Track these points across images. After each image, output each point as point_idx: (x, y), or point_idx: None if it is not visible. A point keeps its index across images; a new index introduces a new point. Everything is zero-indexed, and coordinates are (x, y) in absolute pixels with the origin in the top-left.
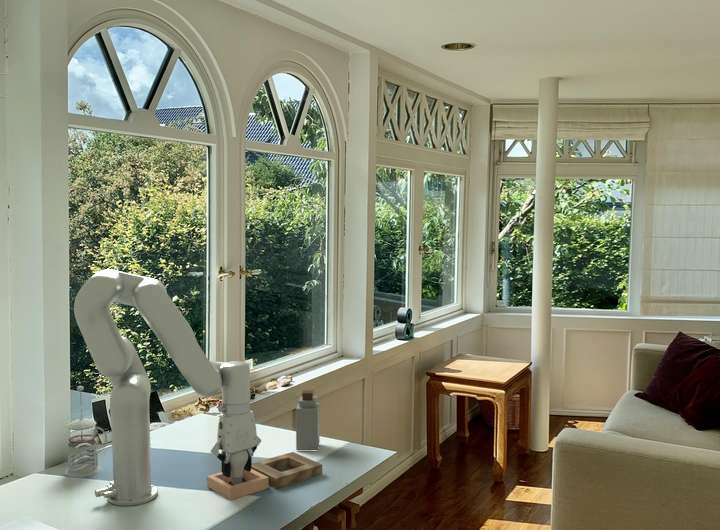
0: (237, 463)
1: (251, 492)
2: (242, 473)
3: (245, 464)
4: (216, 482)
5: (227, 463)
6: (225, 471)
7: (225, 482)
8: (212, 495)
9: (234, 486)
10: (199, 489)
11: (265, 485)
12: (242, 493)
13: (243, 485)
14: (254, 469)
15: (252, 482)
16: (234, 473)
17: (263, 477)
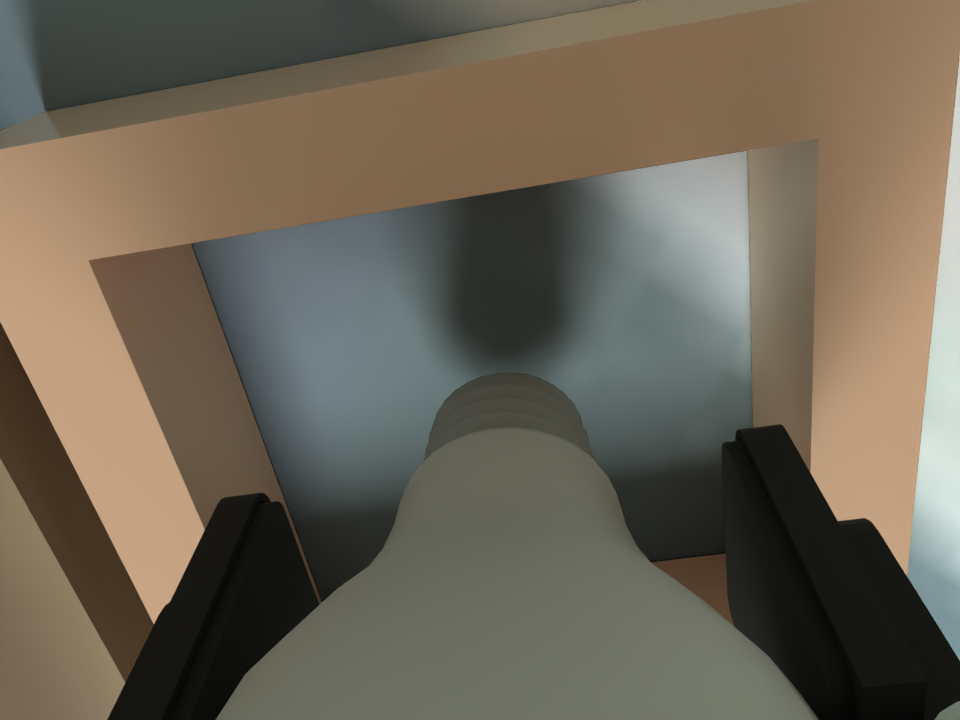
0: (639, 594)
1: (393, 50)
2: (422, 478)
3: None
4: (906, 477)
5: (913, 705)
6: (864, 550)
7: (821, 368)
8: (953, 315)
9: (798, 68)
10: (952, 569)
11: (76, 115)
12: (592, 16)
13: (584, 37)
14: (123, 639)
15: (337, 87)
16: (606, 499)
17: (34, 216)
